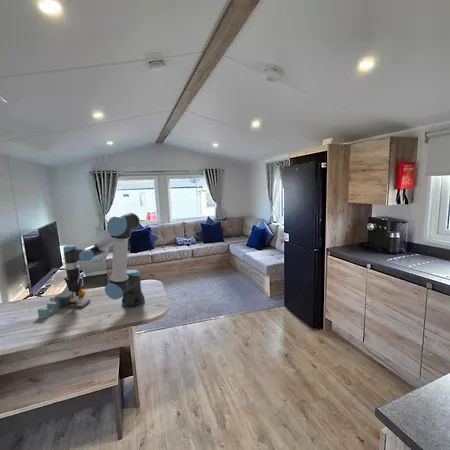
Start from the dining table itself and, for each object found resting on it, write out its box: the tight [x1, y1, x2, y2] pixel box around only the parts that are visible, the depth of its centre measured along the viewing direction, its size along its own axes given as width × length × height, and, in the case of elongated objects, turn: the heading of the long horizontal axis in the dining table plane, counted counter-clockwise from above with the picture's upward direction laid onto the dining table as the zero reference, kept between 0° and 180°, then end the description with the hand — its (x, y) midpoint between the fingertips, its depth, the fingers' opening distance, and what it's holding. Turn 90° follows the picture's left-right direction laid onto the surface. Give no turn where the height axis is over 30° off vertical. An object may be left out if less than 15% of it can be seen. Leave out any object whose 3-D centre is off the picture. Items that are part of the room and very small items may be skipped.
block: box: [54, 290, 91, 309], centre depth 187 cm, size 19×9×8 cm, turn 84°
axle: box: [49, 296, 76, 303], centre depth 187 cm, size 18×3×3 cm, turn 84°
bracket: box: [67, 287, 86, 298], centre depth 201 cm, size 11×7×12 cm, turn 108°
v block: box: [37, 301, 59, 319], centre depth 175 cm, size 6×10×6 cm, turn 174°
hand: (76, 300), depth 186 cm, fingers closed
